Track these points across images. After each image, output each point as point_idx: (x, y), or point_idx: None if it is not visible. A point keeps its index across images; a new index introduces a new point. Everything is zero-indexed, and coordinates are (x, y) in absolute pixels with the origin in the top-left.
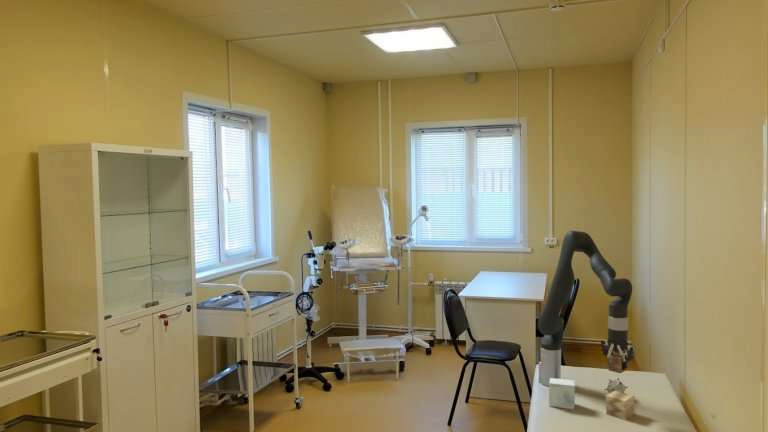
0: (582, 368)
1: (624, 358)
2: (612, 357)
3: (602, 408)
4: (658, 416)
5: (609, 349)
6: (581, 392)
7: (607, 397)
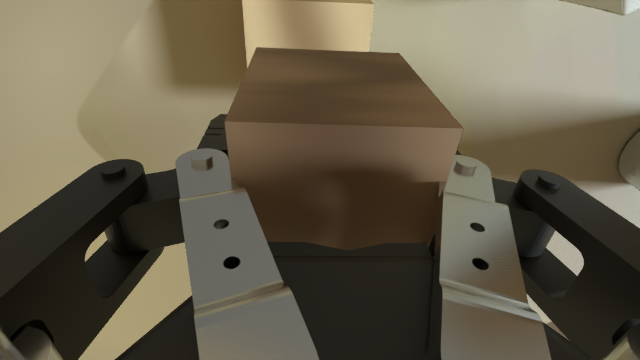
0: (548, 317)
1: (185, 175)
2: (384, 120)
3: (392, 44)
4: (183, 133)
5: (510, 240)
6: (519, 147)
7: (361, 2)
